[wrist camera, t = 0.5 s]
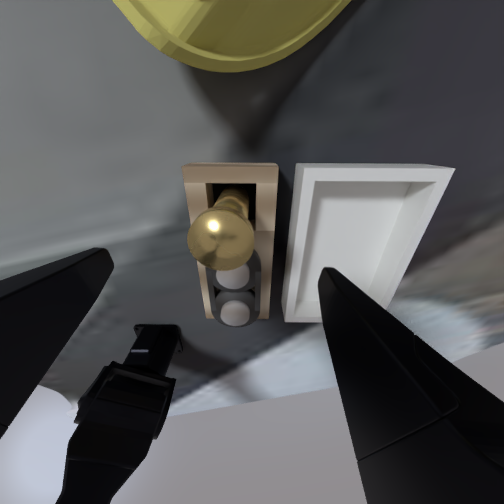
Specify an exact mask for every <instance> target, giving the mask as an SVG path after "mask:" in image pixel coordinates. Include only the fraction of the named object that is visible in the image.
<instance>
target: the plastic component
mask: <svg viewBox="0 0 504 504" xmlns="http://www.w3.org/2000/svg"><path fill="white" fill-rule="evenodd" d="M112 1H113V2H114V3H115V4H116V5H117V6H118V8H119V9H120V10H121V11H122V12H123V14H124V15H125V16H126V17H127V19H128V20H129V21H130V22H131V24H132V25H133V26H134V27H135V29H136V30H137V31H138V32H139V33H140V34H141V35H142V36H143V37H144V38H145V39H146V40H147V41H148V42H150V43H151V44H152V45H153V46H155V47H156V48H157V49H158V50H159V51H161V52H163V53H164V54H166V55H167V56H169V57H171V58H173V59H175V60H177V61H180V62H182V63H185V64H187V65H190V66H192V67H196V68H200V69H203V70H207V71H215V72H242V71H248V70H254V69H257V68H261V67H264V66H268V65H270V64H272V63H274V62H277V61H279V60H281V59H283V58H285V57H287V56H288V55H290V54H292V53H293V52H295V51H296V50H298V49H299V48H301V47H302V46H304V45H305V44H306V43H307V42H309V41H310V40H311V39H313V38H314V37H315V36H316V35H317V34H318V33H319V32H321V31H322V30H323V29H324V28H325V27H326V26H327V25H329V24H330V23H331V21H332V20H333V19H334V18H335V17H336V16H337V15H338V14H339V13H340V12H341V11H342V10H343V9H344V8H345V7H346V6H347V5H348V4H349V2H350V1H351V0H112Z"/></svg>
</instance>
